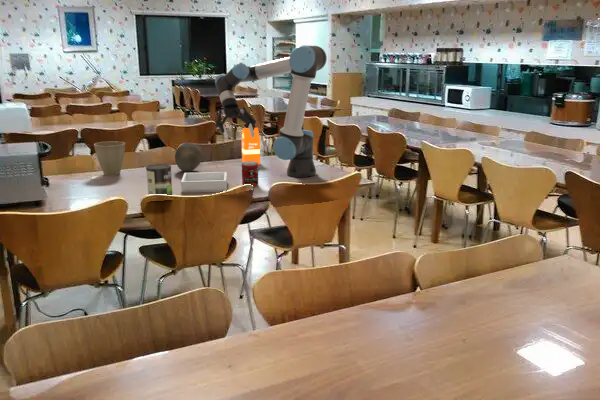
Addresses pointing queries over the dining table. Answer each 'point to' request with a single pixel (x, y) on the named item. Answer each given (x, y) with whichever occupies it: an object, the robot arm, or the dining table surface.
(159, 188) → the coffee can
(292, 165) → the robot arm
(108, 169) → the plant pot
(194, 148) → the cantaloupe
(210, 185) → the tray
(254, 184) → the canned food
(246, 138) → the orange juice
